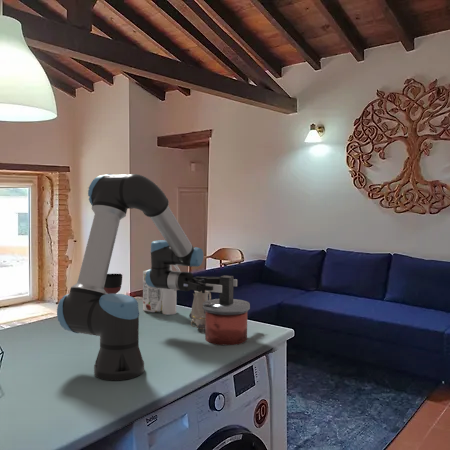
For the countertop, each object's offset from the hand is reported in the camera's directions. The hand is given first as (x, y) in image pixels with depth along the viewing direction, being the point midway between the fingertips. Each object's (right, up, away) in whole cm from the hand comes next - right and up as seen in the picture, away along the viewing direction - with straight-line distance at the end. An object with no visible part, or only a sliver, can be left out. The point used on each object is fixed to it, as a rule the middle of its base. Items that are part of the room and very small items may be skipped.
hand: (229, 285), depth 180 cm
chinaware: (-9, -19, +25) cm, 33 cm away
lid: (-1, -8, +1) cm, 9 cm away
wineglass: (-51, -19, +26) cm, 60 cm away
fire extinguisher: (-28, -18, +41) cm, 53 cm away
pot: (+1, -20, +6) cm, 21 cm away
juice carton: (-36, -18, +45) cm, 61 cm away
